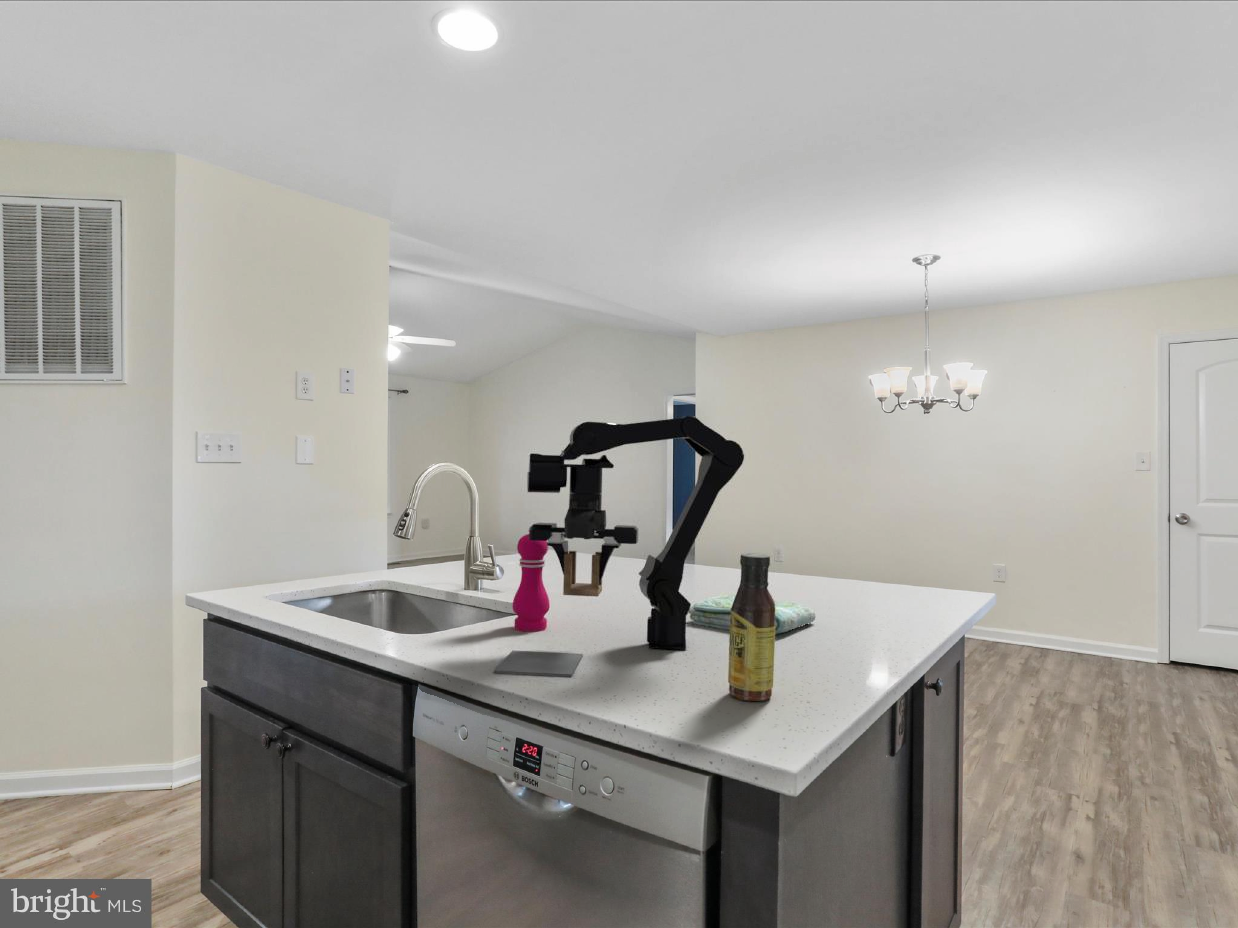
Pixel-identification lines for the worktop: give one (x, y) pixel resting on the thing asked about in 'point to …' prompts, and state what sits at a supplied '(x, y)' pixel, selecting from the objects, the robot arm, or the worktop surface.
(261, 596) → the worktop surface
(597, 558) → the stool
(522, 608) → the pepper mill
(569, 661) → the mat
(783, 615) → the towel
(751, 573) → the sauce bottle
